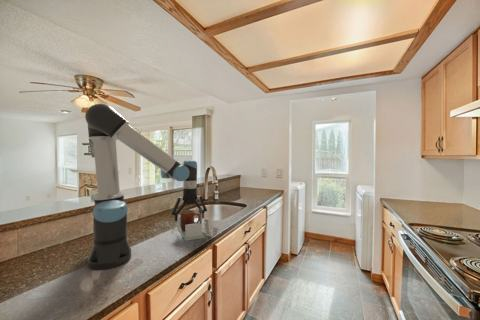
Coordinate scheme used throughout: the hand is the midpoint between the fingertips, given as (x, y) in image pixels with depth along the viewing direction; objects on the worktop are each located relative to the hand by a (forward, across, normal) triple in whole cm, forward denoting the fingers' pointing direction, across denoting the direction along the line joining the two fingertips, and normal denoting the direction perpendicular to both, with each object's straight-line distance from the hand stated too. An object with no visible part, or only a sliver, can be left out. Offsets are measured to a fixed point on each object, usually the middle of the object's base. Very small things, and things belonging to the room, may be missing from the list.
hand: (189, 225), depth 115 cm
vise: (+4, 0, 0) cm, 4 cm away
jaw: (+2, 0, +12) cm, 13 cm away
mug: (+3, 0, 0) cm, 3 cm away
